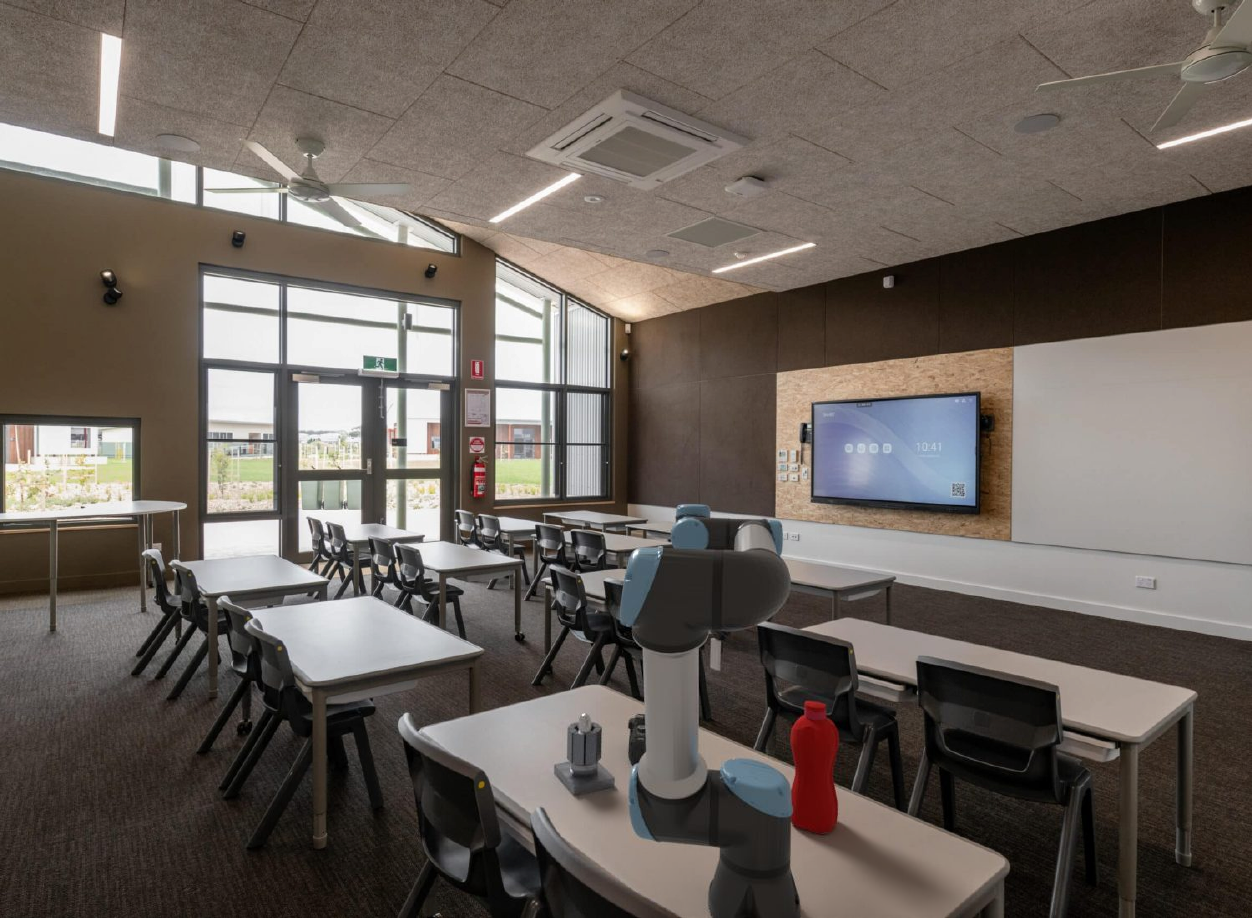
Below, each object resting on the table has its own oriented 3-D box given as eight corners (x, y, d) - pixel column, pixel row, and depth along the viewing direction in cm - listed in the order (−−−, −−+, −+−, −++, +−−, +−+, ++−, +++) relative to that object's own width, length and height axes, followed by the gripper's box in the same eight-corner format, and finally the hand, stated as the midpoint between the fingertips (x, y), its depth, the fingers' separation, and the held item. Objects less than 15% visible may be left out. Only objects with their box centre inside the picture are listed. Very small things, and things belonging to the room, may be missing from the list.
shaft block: (614, 786, 156) (615, 719, 156) (574, 795, 151) (575, 726, 151) (592, 764, 167) (593, 702, 166) (554, 772, 162) (555, 708, 162)
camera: (670, 764, 168) (671, 723, 168) (632, 769, 165) (633, 728, 164) (651, 742, 180) (652, 704, 180) (615, 747, 177) (616, 708, 177)
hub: (605, 761, 157) (606, 730, 157) (575, 767, 154) (576, 736, 154) (592, 748, 164) (592, 719, 164) (562, 754, 161) (563, 724, 160)
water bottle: (842, 815, 145) (845, 697, 145) (829, 840, 136) (832, 714, 135) (799, 803, 150) (802, 689, 150) (784, 826, 140) (786, 704, 140)
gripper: (727, 569, 158) (725, 661, 158) (633, 576, 146) (631, 675, 146) (748, 574, 152) (746, 670, 152) (651, 581, 140) (649, 685, 140)
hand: (689, 673), depth 149 cm, fingers open, 13 cm apart
